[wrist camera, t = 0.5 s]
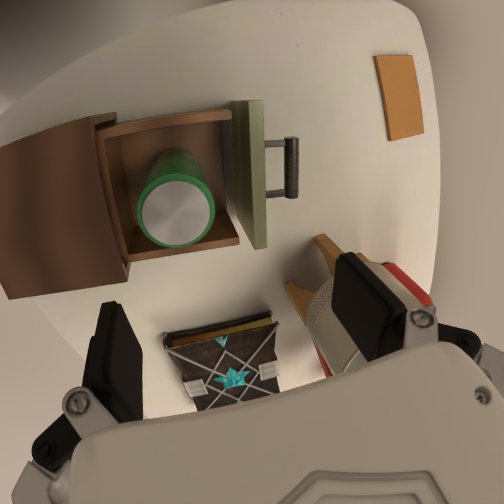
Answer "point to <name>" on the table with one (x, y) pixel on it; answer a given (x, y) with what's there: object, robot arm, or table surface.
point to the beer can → (411, 286)
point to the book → (227, 361)
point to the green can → (175, 200)
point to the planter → (325, 321)
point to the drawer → (211, 161)
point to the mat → (400, 95)
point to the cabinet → (57, 213)
